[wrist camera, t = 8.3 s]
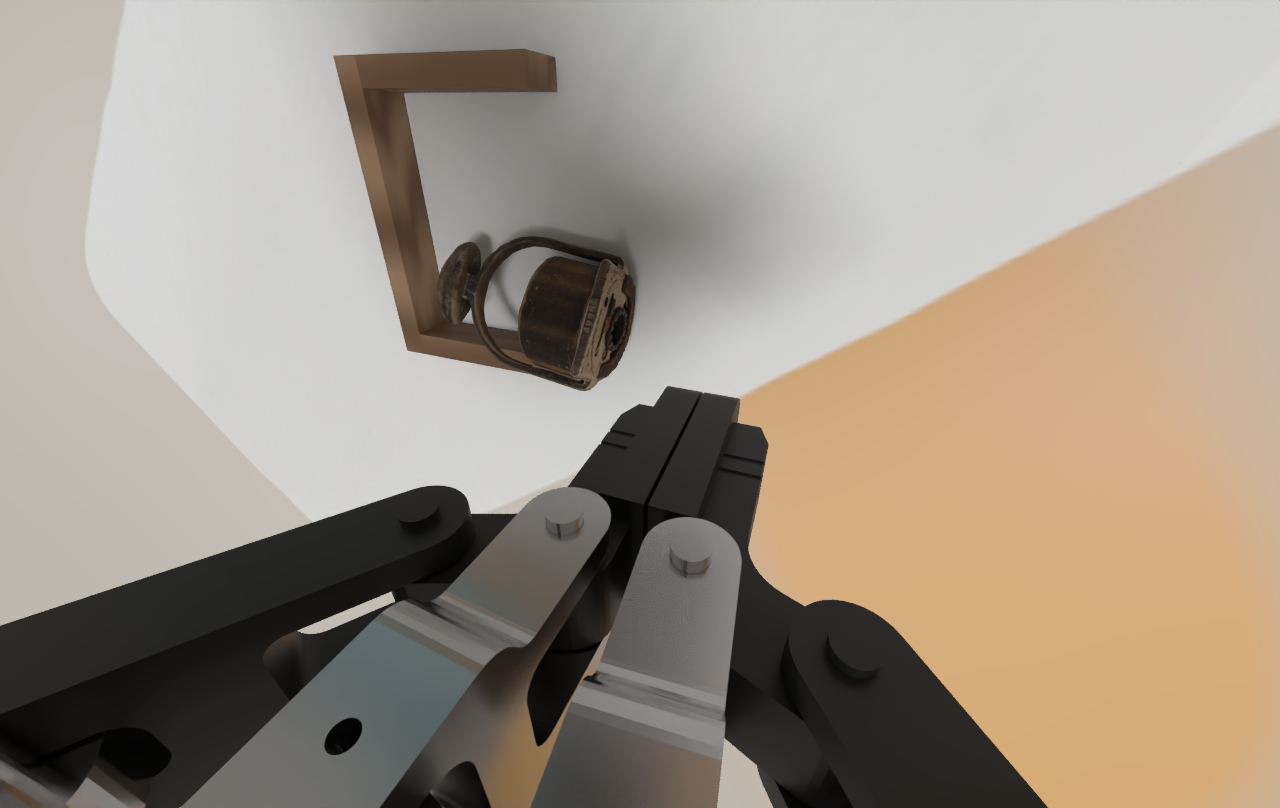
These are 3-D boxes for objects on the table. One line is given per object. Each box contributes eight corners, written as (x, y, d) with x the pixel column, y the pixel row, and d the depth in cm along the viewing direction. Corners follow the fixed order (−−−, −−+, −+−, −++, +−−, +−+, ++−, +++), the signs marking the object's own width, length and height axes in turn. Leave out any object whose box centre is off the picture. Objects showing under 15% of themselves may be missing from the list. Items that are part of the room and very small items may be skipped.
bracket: (377, 62, 28) (333, 55, 26) (555, 57, 25) (524, 49, 22) (435, 336, 37) (407, 350, 34) (572, 360, 33) (552, 378, 31)
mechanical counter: (658, 227, 29) (671, 386, 29) (508, 276, 36) (516, 407, 35) (591, 176, 23) (606, 377, 22) (423, 245, 29) (431, 404, 29)
